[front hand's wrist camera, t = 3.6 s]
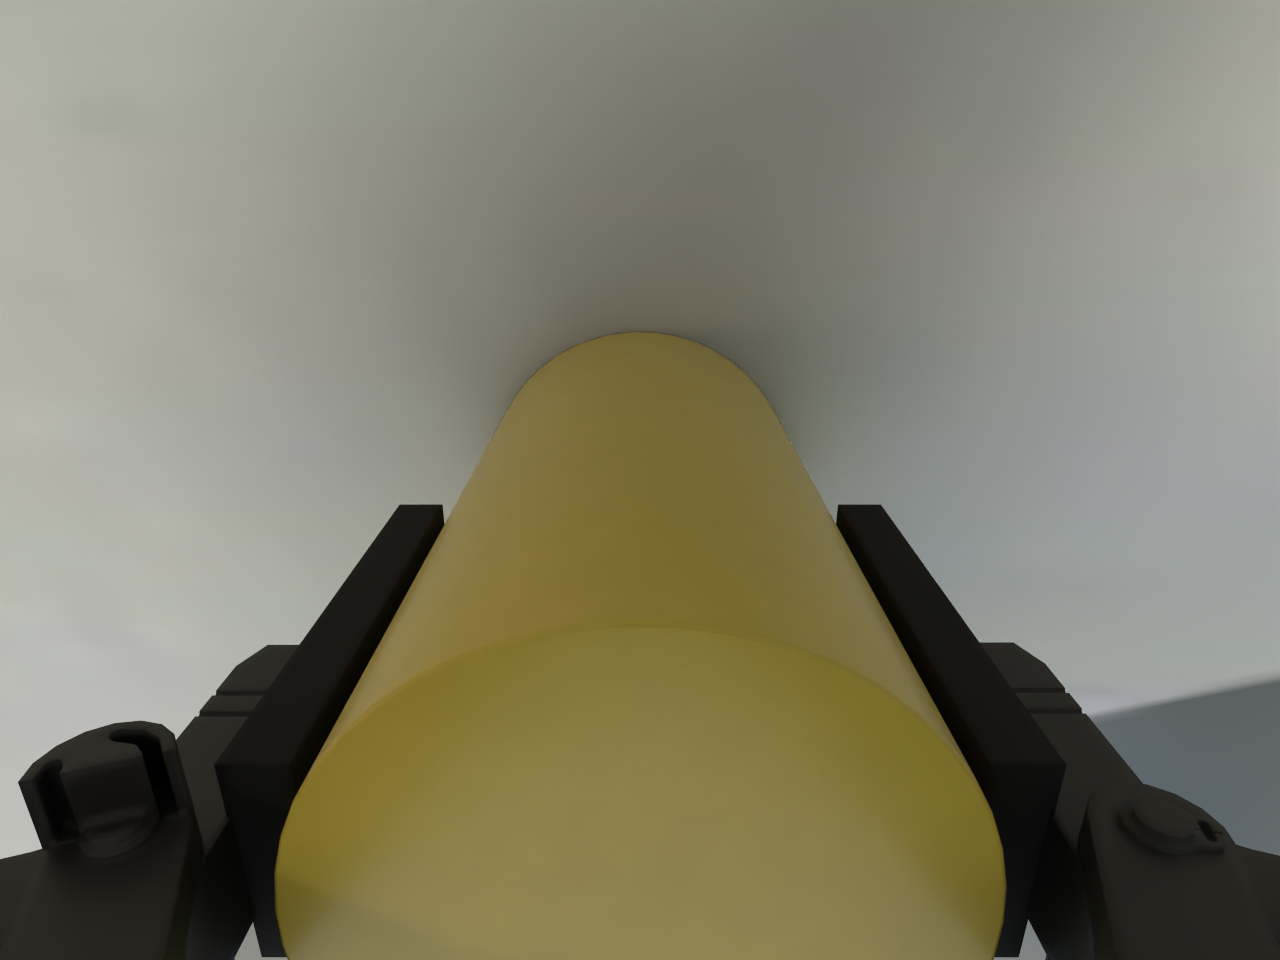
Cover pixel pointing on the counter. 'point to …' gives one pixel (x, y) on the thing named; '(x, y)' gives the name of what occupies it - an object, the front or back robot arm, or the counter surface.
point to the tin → (640, 711)
